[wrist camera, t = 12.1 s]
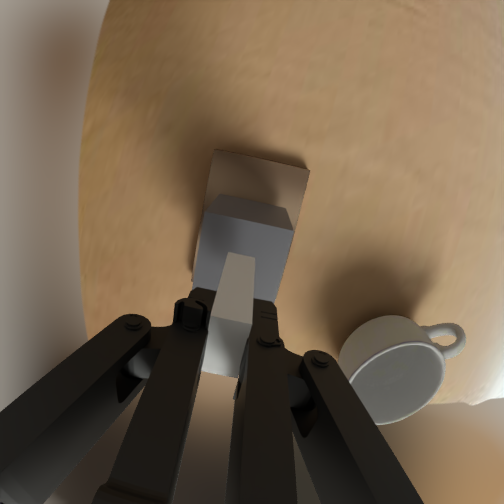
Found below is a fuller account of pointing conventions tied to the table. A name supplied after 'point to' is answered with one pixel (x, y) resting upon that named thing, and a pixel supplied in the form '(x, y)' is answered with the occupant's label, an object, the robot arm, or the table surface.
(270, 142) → the table surface
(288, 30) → the table surface
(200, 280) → the grey upright block
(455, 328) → the teacup
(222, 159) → the stand
